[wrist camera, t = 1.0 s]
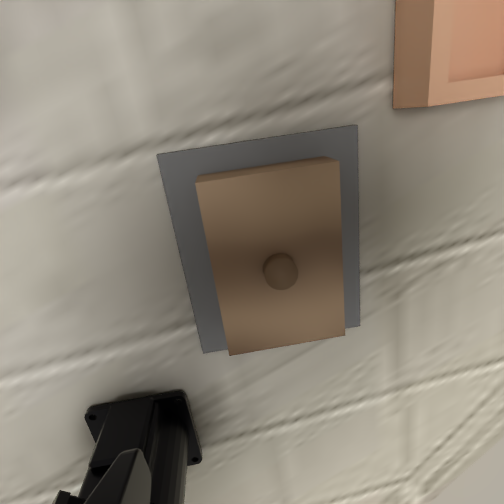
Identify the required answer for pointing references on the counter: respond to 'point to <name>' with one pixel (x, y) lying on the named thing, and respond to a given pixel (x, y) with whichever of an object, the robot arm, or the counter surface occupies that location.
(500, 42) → the dish
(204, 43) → the counter surface
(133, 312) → the counter surface
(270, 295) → the lid
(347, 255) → the mat
